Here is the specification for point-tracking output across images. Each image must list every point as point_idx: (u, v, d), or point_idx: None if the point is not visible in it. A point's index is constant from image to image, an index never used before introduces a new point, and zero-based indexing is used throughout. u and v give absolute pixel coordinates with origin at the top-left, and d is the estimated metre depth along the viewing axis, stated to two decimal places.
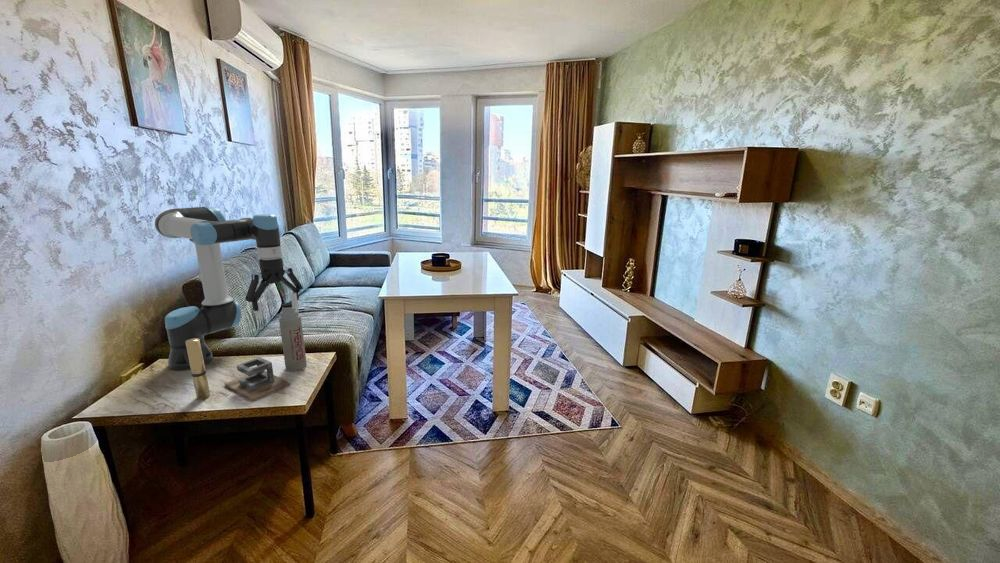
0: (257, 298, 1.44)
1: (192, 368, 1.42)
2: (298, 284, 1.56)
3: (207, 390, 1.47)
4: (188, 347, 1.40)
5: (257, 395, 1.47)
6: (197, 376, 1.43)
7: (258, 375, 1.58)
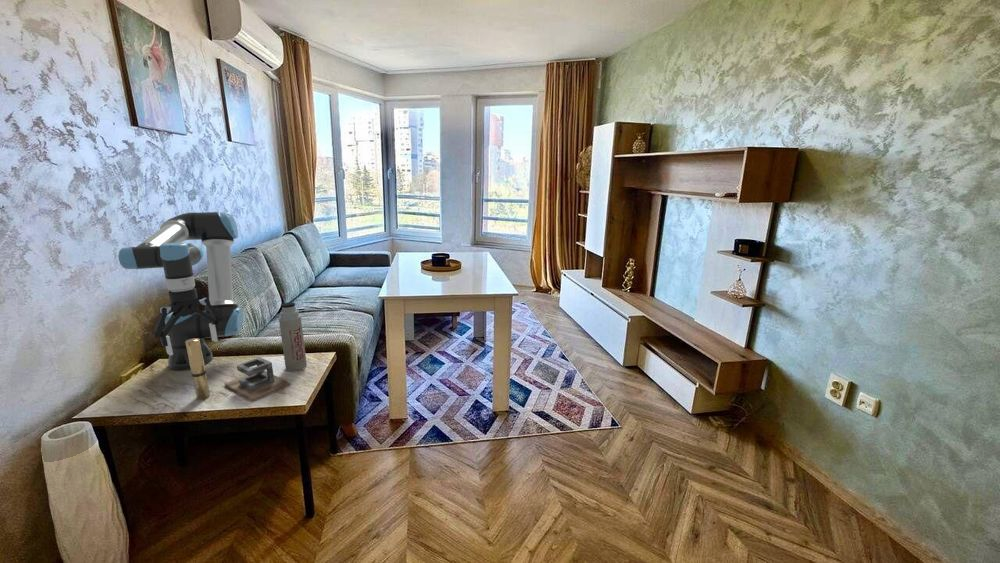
0: (165, 333, 1.34)
1: (192, 368, 1.42)
2: (217, 315, 1.46)
3: (207, 390, 1.47)
4: (188, 347, 1.40)
5: (257, 395, 1.47)
6: (197, 376, 1.43)
7: (258, 375, 1.58)
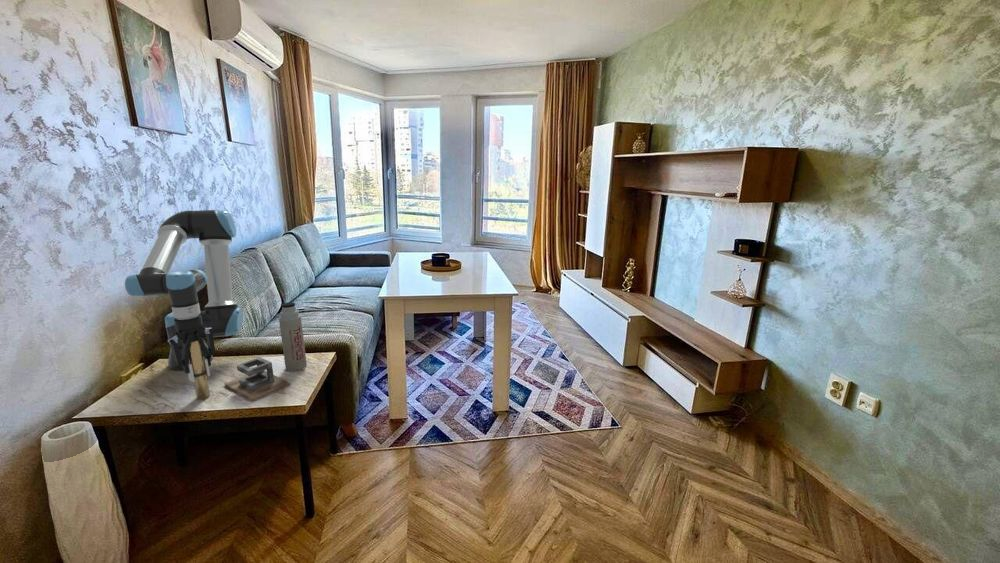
0: (186, 361, 1.40)
1: (192, 368, 1.42)
2: (212, 348, 1.47)
3: (207, 390, 1.47)
4: None
5: (257, 395, 1.47)
6: (197, 376, 1.43)
7: (258, 375, 1.58)
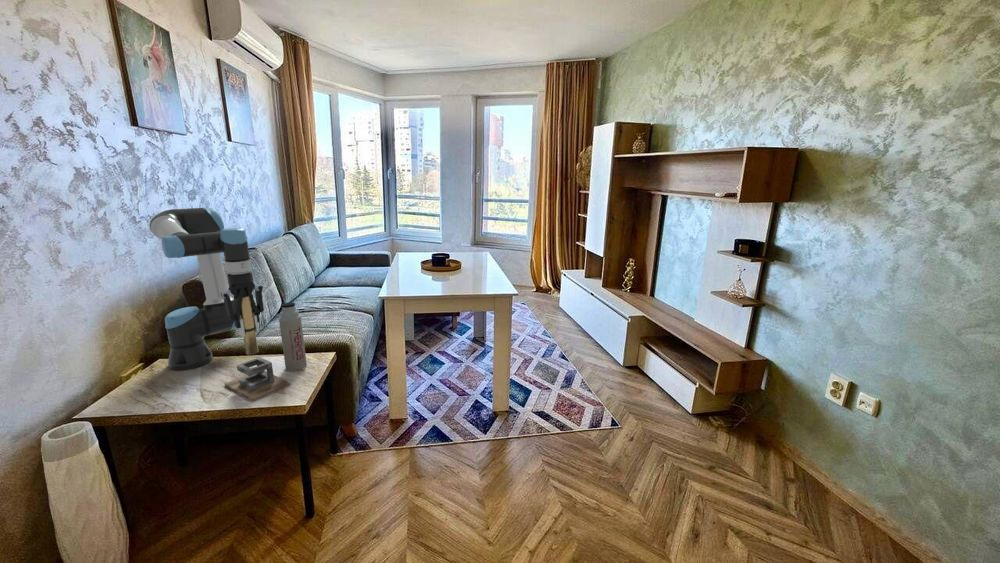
0: (238, 315, 1.45)
1: (243, 323, 1.47)
2: (261, 305, 1.51)
3: (256, 346, 1.51)
4: None
5: (257, 395, 1.47)
6: (247, 331, 1.48)
7: (258, 375, 1.58)
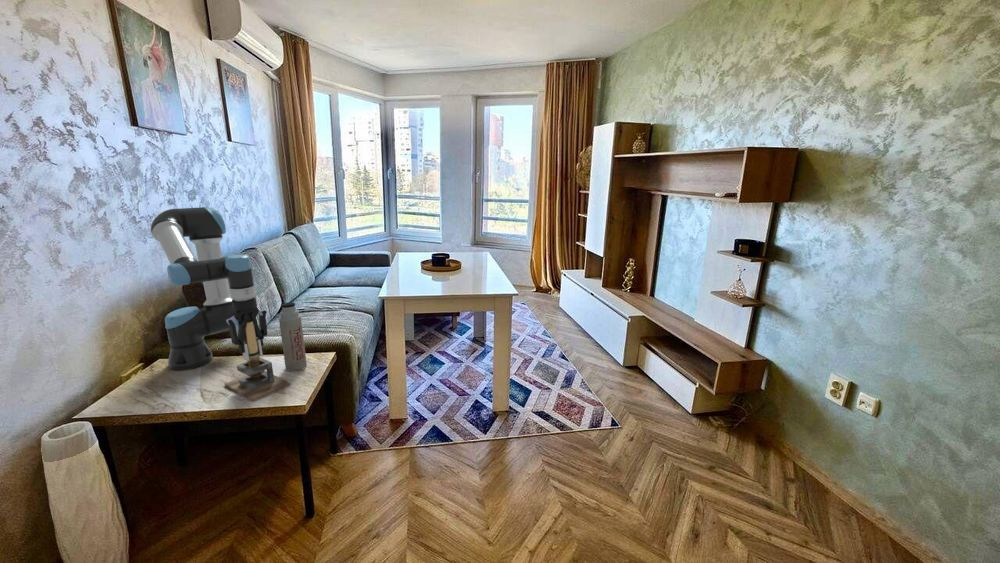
0: (242, 340, 1.47)
1: None
2: (264, 329, 1.54)
3: None
4: None
5: (257, 395, 1.47)
6: (251, 356, 1.50)
7: None
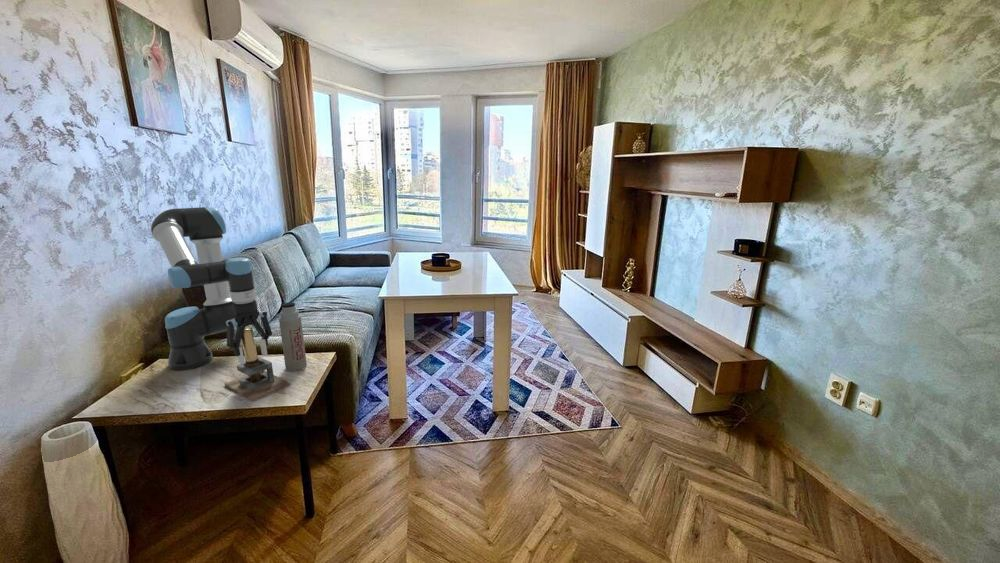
0: (238, 343, 1.46)
1: (246, 356, 1.50)
2: (268, 329, 1.55)
3: (260, 376, 1.54)
4: (242, 336, 1.48)
5: (257, 395, 1.47)
6: (251, 363, 1.51)
7: None
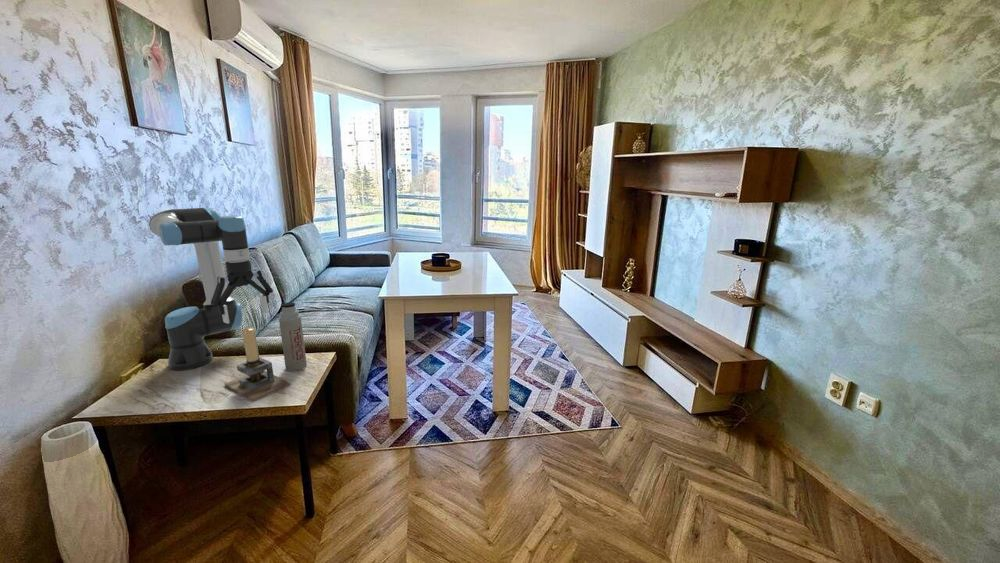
0: (223, 302, 1.40)
1: (248, 356, 1.50)
2: (268, 287, 1.53)
3: (261, 377, 1.55)
4: (245, 336, 1.48)
5: (257, 395, 1.47)
6: (252, 363, 1.51)
7: None
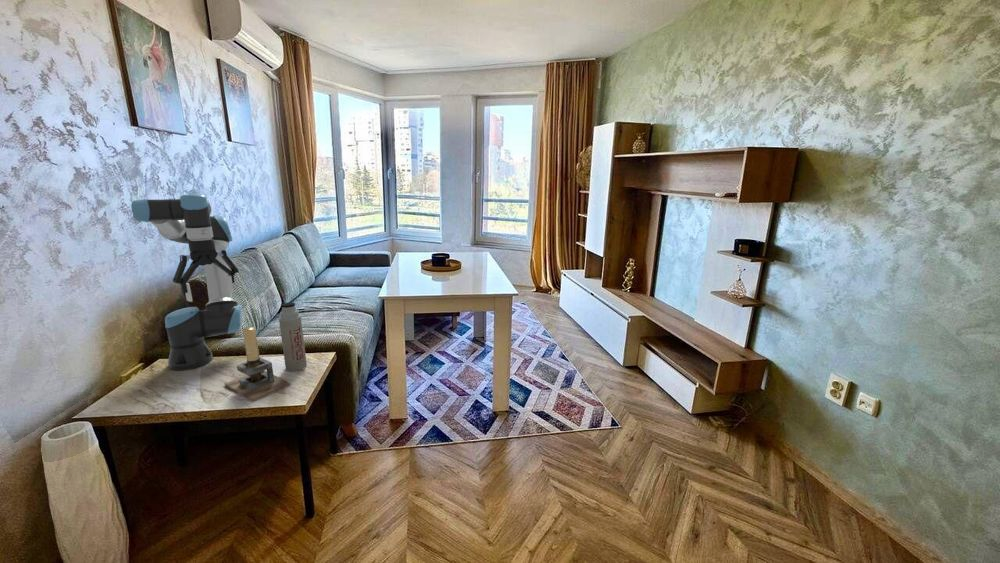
0: (186, 280, 1.41)
1: (248, 355, 1.50)
2: (233, 267, 1.53)
3: (261, 376, 1.55)
4: (245, 335, 1.49)
5: (257, 395, 1.47)
6: (252, 363, 1.51)
7: None
